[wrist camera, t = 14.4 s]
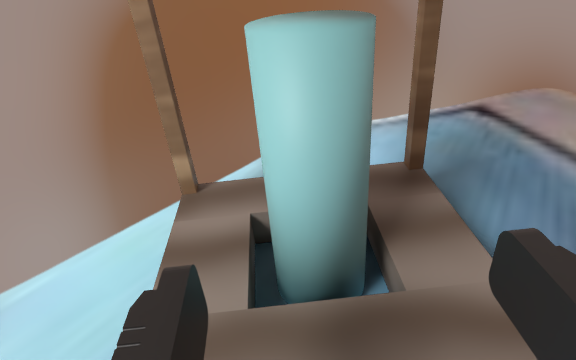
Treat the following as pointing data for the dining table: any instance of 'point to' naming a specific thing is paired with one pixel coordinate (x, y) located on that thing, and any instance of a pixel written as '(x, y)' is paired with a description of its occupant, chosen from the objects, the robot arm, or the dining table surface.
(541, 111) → the dining table surface
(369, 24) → the peg
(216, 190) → the tan frame
